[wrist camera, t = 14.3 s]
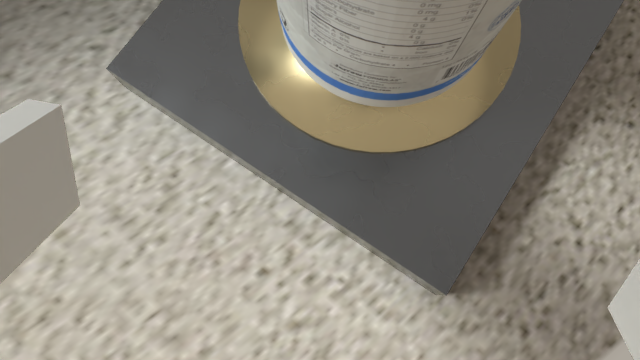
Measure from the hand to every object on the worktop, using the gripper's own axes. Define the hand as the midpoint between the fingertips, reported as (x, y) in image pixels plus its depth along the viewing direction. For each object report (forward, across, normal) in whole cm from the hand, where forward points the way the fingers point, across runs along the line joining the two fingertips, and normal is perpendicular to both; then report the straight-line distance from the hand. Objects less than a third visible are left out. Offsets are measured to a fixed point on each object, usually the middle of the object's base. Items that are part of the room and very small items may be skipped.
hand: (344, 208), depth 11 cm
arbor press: (+17, +1, +1) cm, 17 cm away
